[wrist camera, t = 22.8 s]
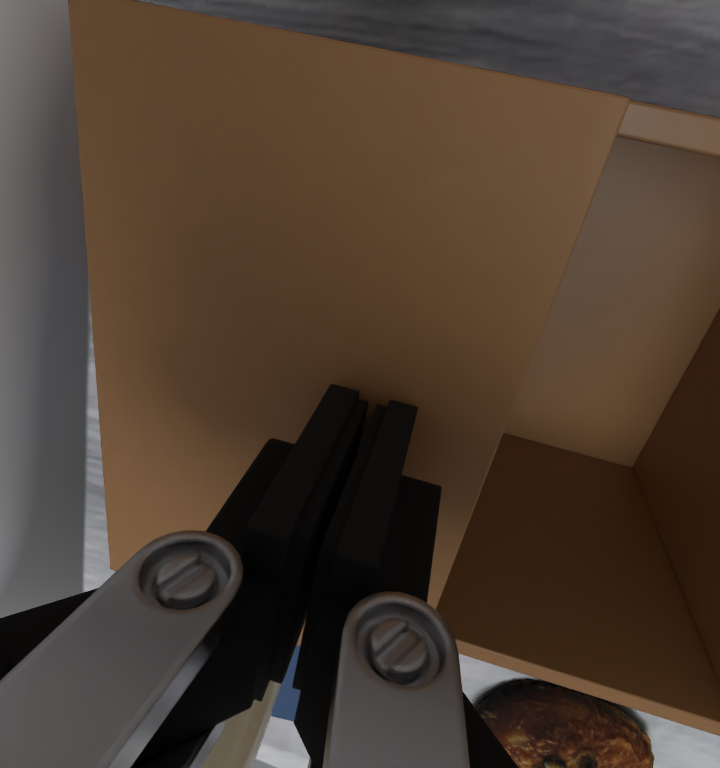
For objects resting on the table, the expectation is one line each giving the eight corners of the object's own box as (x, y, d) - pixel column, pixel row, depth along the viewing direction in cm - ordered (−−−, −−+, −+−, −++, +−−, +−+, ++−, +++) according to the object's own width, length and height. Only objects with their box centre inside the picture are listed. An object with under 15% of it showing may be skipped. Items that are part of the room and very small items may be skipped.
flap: (119, 558, 15) (109, 569, 14) (84, -8, 8) (65, -14, 8) (408, 674, 13) (405, 689, 13) (627, 97, 7) (632, 97, 7)
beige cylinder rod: (194, 531, 30) (-160, 1038, 14) (271, 486, 27) (-60, 1054, 11) (269, 604, 32) (29, 1140, 15) (348, 568, 29) (160, 1177, 12)
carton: (271, 373, 25) (125, 548, 15) (306, 54, 19) (96, -8, 9) (636, 472, 23) (745, 745, 13) (811, 158, 17) (1271, 228, 7)
